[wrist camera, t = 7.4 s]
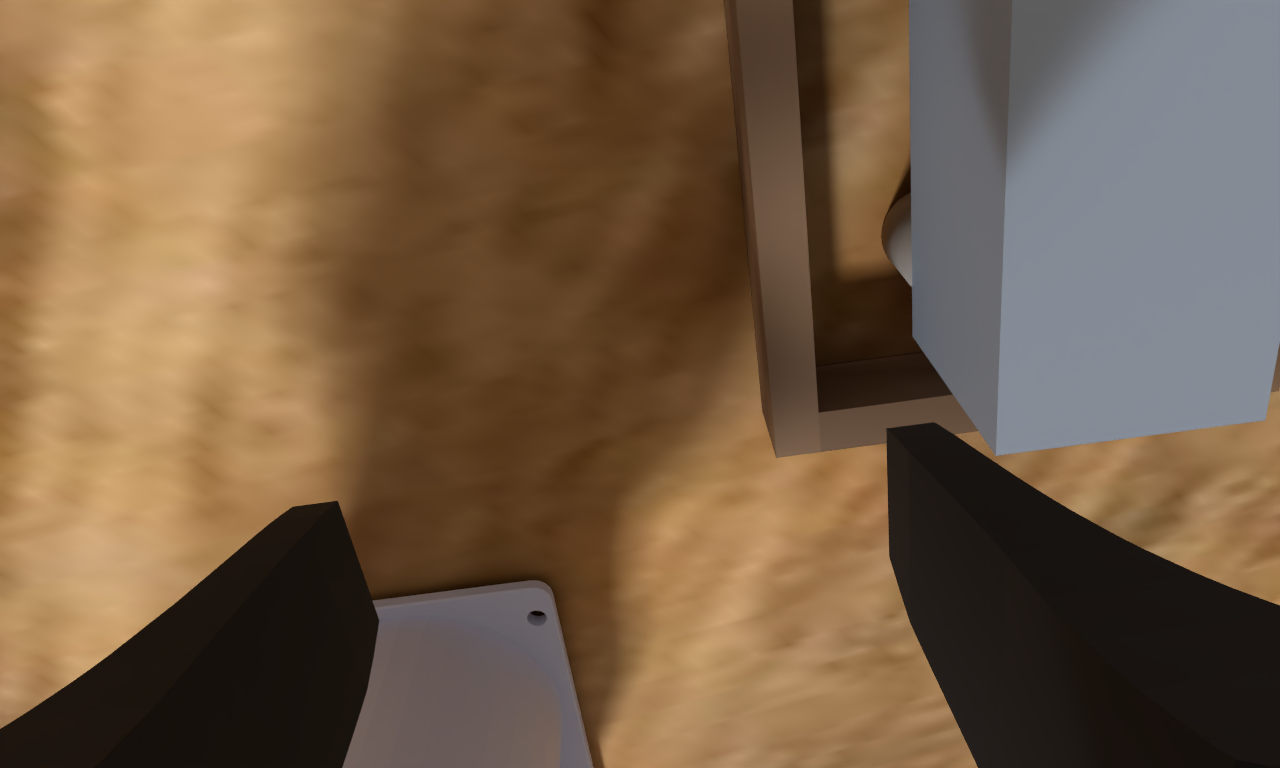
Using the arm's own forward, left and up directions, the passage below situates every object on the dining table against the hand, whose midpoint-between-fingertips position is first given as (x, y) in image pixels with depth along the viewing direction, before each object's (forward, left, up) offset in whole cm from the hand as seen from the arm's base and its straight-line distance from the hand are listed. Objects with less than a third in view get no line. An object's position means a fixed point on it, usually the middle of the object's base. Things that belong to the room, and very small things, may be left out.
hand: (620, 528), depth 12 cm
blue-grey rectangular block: (+4, -8, -8) cm, 13 cm away
